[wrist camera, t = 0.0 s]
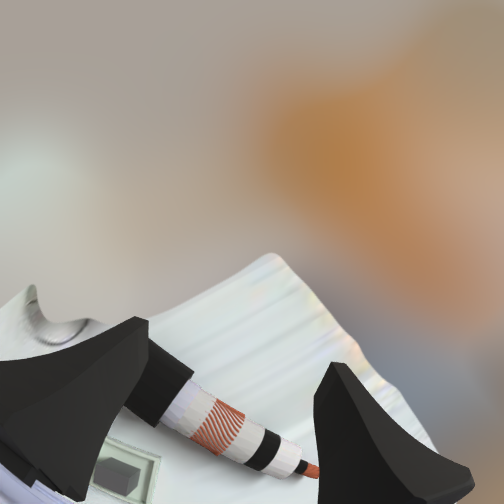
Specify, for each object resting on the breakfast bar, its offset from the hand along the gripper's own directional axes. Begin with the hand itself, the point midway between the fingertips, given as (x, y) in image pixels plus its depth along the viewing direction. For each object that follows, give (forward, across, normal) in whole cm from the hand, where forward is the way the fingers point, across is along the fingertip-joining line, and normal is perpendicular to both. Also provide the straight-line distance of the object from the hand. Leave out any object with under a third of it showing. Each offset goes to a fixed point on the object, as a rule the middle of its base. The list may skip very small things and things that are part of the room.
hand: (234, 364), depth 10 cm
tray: (+7, +12, +37) cm, 39 cm away
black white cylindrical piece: (+17, 0, +28) cm, 33 cm away
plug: (+7, +12, +36) cm, 39 cm away
